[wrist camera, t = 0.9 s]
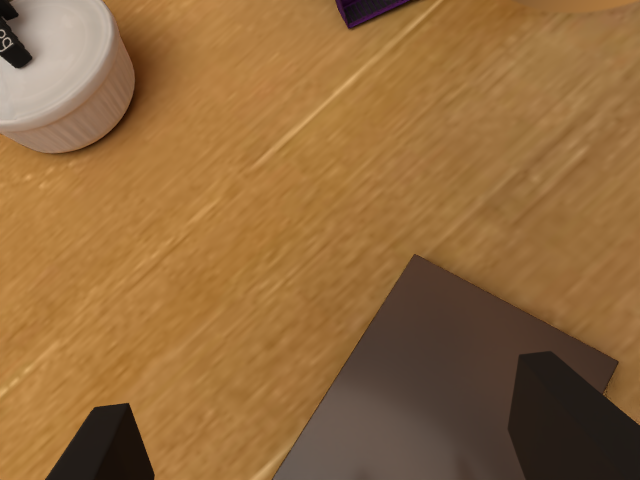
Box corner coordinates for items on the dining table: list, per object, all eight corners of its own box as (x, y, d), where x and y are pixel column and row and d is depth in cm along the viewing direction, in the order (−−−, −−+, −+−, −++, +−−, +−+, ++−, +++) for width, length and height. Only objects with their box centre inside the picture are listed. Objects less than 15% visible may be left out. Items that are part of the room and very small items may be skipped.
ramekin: (-24, 133, 41) (-83, 87, 37) (71, 22, 44) (28, -33, 40) (82, 193, 38) (31, 150, 33) (179, 67, 40) (145, 11, 36)
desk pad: (473, 643, 24) (474, 651, 23) (272, 487, 28) (266, 487, 27) (612, 366, 28) (619, 361, 27) (415, 261, 32) (414, 253, 31)
